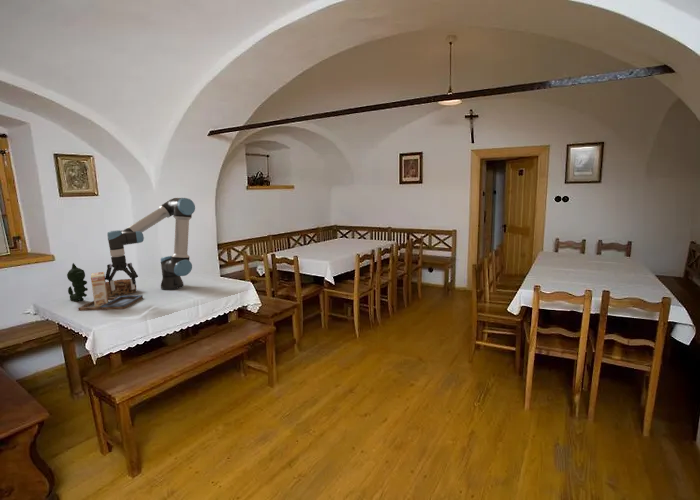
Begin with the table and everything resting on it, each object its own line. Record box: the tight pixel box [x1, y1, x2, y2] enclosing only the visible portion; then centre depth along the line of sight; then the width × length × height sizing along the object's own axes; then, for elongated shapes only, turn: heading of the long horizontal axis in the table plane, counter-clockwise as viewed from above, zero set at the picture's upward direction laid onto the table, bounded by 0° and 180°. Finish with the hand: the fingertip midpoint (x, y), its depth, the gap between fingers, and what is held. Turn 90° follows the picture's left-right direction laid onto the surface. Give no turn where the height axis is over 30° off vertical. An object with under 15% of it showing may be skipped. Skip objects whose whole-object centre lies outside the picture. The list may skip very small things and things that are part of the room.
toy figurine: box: [66, 262, 89, 303], centre depth 247 cm, size 9×19×25 cm, turn 59°
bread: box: [105, 278, 137, 297], centre depth 262 cm, size 19×11×10 cm, turn 136°
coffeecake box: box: [90, 271, 109, 307], centre depth 237 cm, size 15×7×20 cm, turn 32°
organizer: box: [77, 294, 144, 311], centre depth 238 cm, size 27×22×2 cm
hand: (123, 289), depth 238 cm, fingers open, 12 cm apart
